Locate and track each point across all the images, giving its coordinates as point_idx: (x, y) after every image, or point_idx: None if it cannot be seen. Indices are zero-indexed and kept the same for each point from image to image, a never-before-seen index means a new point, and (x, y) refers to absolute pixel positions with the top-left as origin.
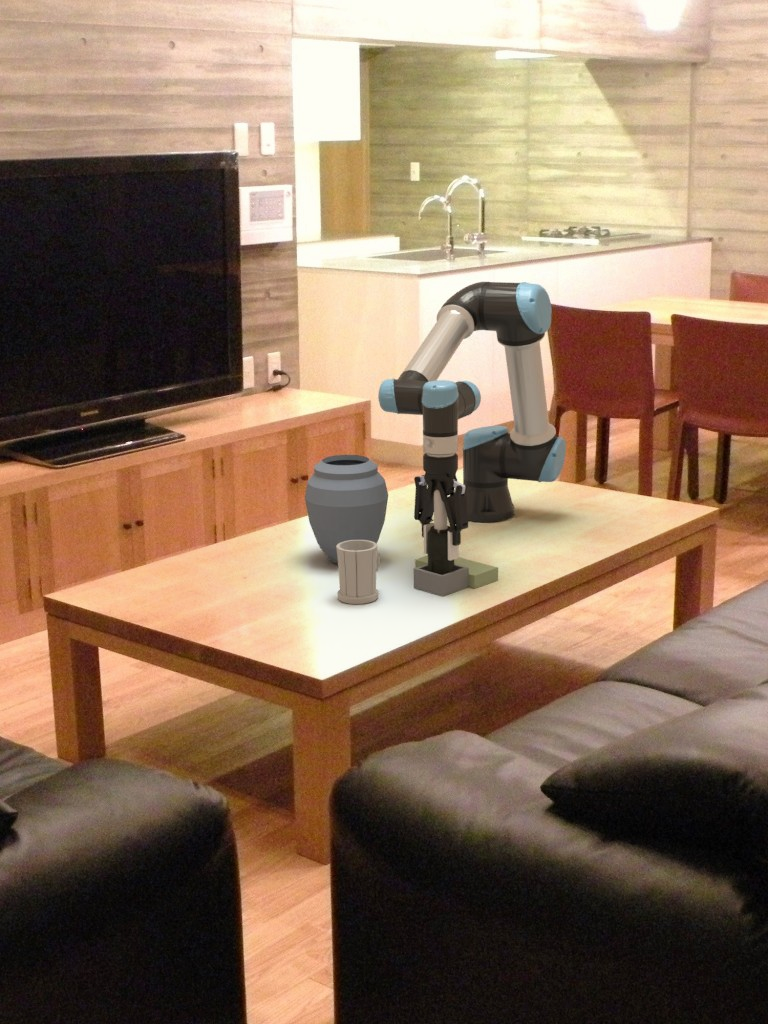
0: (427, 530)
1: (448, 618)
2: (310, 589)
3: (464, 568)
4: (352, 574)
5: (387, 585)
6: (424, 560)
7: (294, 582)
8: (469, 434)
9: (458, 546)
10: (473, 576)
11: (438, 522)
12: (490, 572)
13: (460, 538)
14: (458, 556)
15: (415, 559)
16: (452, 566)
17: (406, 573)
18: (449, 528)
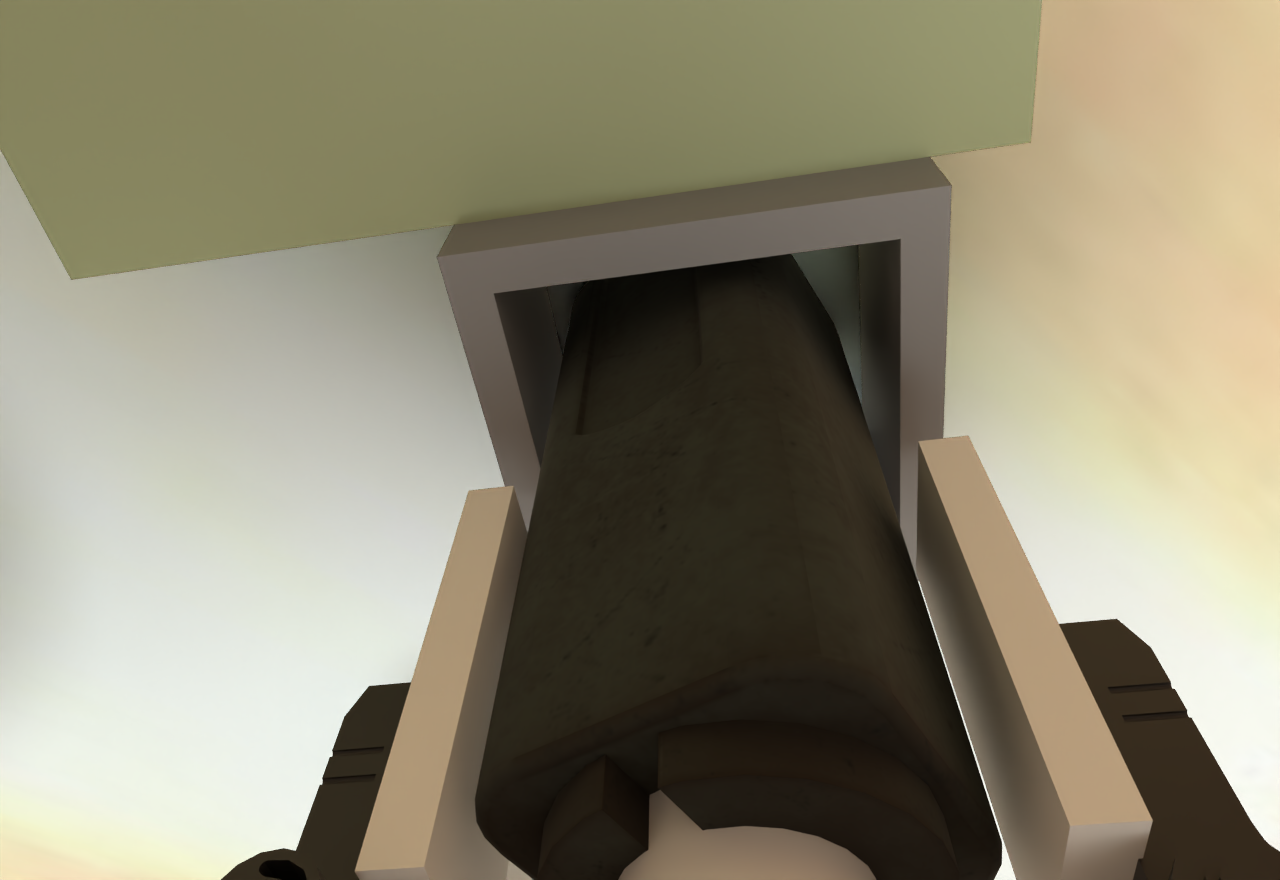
0: (493, 878)
1: (1248, 676)
2: (222, 867)
3: (931, 251)
4: None
5: (386, 581)
6: (152, 221)
7: (56, 863)
8: None
9: (1022, 552)
10: (1005, 139)
11: None
12: None
13: (1185, 713)
14: (974, 452)
15: (69, 274)
16: (830, 377)
17: (149, 307)
18: (905, 847)
